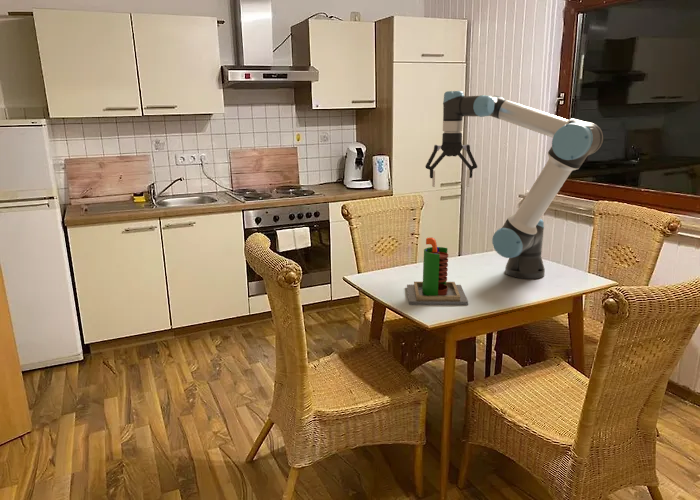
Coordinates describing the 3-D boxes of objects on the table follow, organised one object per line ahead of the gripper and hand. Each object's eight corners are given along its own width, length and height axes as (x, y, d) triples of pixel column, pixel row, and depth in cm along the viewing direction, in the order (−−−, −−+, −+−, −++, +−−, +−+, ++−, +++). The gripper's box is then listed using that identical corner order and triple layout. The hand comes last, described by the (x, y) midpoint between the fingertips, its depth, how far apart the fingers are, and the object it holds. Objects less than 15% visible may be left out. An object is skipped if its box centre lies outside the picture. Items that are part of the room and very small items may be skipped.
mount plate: (460, 287, 198) (460, 280, 197) (467, 305, 180) (468, 297, 180) (407, 287, 199) (407, 280, 198) (409, 304, 182) (409, 297, 181)
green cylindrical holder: (447, 298, 184) (448, 242, 179) (421, 296, 186) (422, 241, 181) (448, 288, 193) (449, 235, 188) (423, 287, 195) (424, 234, 190)
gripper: (482, 131, 209) (480, 184, 215) (419, 132, 211) (418, 185, 216) (486, 132, 202) (483, 187, 208) (420, 133, 204) (419, 187, 209)
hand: (450, 186), depth 212 cm, fingers open, 13 cm apart
